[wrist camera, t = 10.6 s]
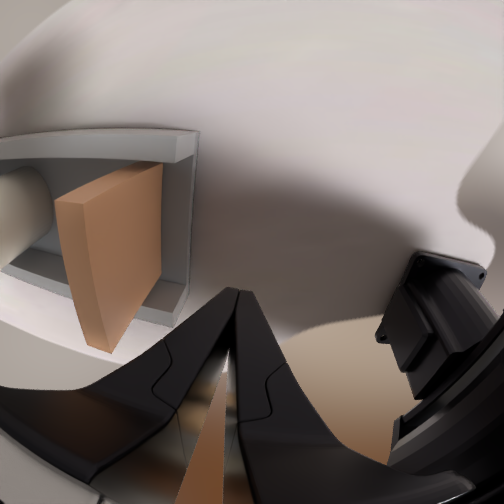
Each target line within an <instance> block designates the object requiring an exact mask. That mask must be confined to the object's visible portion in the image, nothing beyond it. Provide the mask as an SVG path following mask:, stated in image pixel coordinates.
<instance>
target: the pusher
mask: <svg viewBox="0 0 504 504" xmlns="http://www.w3.org/2000/svg"><path fill="white" fill-rule="evenodd" d="M162 174H163V162H151V161H138V162H136V163H133V164H131V165H128V166H126V167H123V168H121V169H119V170H116V171H114V172H112V173H109V174H107V175H105V176H103V177H100V178H98V179H96V180H94V181H92V182H90V183H87V184H85V185H83V186H81V187H79V188H77V189H75V190H73V191H71V192H69V193H67V194H65V195H63V196H61V197H59V198H57V199H56V200H54V202H55V211H56V219H57V226H58V233H59V239H60V245H61V250H62V255H63V260H64V265H65V270H66V274H67V279H68V283H69V287H70V291H71V294H72V298H73V302H74V305H75V309H76V312H77V316H78V319H79V322H80V325H81V328H82V331H83V334H84V337H85V340H86V343H87V345H89V346H91V347H94V348H97V349H99V350H102V351H105V352H108V353H111V354H112V352H113V351H114V349H115V347H116V345H117V344H118V342H119V340H120V339H121V337H122V335H123V334H124V332H125V331H126V329H127V327H128V326H129V324H130V322H131V321H132V319H133V318H134V316H135V314H136V313H137V311H138V310H139V308H140V306H141V305H142V303H143V302H144V300H145V299H146V297H147V295H148V294H149V292H150V291H151V289H152V288H153V286H154V285H155V283H156V282H157V280H158V279H159V277H160V276H161V274H162V270H161V198H162Z"/></svg>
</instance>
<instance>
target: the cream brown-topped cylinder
mask: <svg viewBox="0 0 504 504" xmlns="http://www.w3.org/2000/svg"><path fill="white" fill-rule="evenodd" d="M52 221H53V204H52V199H51V195H50V192H49V189H48V187H47V184H46V182H45V181H44V179H43V177H42V176H41V175H40V174H39V173H38V171H36V170H35V169H34V168H32V167H29V166H22V167H20V168H17V169H15V170H12V171H10V172H8V173H5V174H3V175H1V176H0V270H1V269H3V268H4V267H5V266H6V265H7V264H9V263H10V262H11V261H12V260H13V259H15V258H16V257H17V256H18V255H20V254H21V253H22V252H24V251H25V250H26V249H27V248H29V247H30V246H31V245H33V244H34V243H35V242H37V241H38V240H39V239H41V238H42V237H44V236H45V235H46V234H47V233H48V232H49V230H50V228H51V225H52Z"/></svg>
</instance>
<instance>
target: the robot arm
mask: <svg viewBox="0 0 504 504" xmlns="http://www.w3.org/2000/svg"><path fill="white" fill-rule="evenodd" d="M420 259H422V260H421V262H420V263H417V262H418V260H420ZM486 275H487V271H486V270H485V269H484V268H483V267H482V266H479V265H475V264H471V263H467V262H463V261H459V260H455V259H451V258H447V257H442V256H438V255H434V254H430V253H425V252H416V253H415V254H413V255H412V257H411V259H410V262H409V264H408V266H407V269H406V271H405V273H404V276H403V278H402V280H401V283H400V285H399V286H398V287H397V289H396V291H395V293H394V295H393V298H392V300H391V302H390V304H389V306H388V308H387V310H386V312H385V314H384V316H383V318H382V322H381V324H380V326H379V328H378V329H377V331H376V333H375V338H376V341H377V342H378V343H382V344H390V345H391V347H392V350H393V353H394V356H395V358H396V361H397V364H398V367H399V369H400V371H401V372H403V373H406V375H407V378H408V381H409V384H410V387H411V390H412V394H413V397H414V399H415V400H422V399H423V400H422V401H421V402H420V403H418V404H417V405H416V406H415V407H414V408H412V409H411V410H410V411H409V412H407V413H406V414H405V415H401V416H400V417H399V418H397V419H396V420H395V421H394V426H393V427H394V428H393V436H392V444H391V452H390V456H389V459H388V463H387V465H384V464H382V463H380V462H377V461H375V460H373V459H371V458H368V457H366V456H364V455H362V454H360V453H358V452H356V451H354V450H351V449H350V448H348V447H347V446H345V445H344V444H342V443H341V442H340V441H339V440H338V439H337V438H336V437H335V436H334V435H333V433H332V432H331V431H330V429H329V428H328V427H327V425H326V424H325V422H324V421H323V420H322V418H321V417H320V415H319V414H318V413H317V411H316V410H315V408H314V407H313V405H312V404H311V403H310V401H309V400H308V398H307V397H306V395H305V394H304V392H303V391H302V389H301V387H300V386H299V384H298V382H297V380H296V379H295V377H294V375H293V373H292V371H291V369H290V367H289V365H288V363H286V362H287V361H286V359H285V357H284V355H283V353H282V351H281V349H280V347H279V345H278V343H277V341H276V339H275V336H274V334H273V332H272V330H271V328H270V326H269V324H268V322H267V320H266V318H265V316H264V314H263V312H262V310H261V307H260V305H259V303H258V301H257V299H256V297H255V295H254V293H253V292H252V291H248V290H240V292H239V289H237V288H231V287H226V288H225V289H224V290H222V291H221V292H220V293H219V294H217V295H216V296H215V297H214V298H212V299H211V300H210V301H209V302H208V303H206V304H205V305H204V306H203V307H201V308H200V309H199V310H198V311H196V312H195V313H194V314H193V315H191V316H190V317H189V318H188V319H186V320H185V321H184V322H183V323H181V324H180V325H179V326H178V327H176V328H175V329H174V330H172V331H171V332H170V333H169V334H167V335H166V336H165V337H164V338H163V339H161V340H160V341H158V342H157V343H156V344H155V345H153V346H152V347H151V348H149V349H148V350H147V351H145V352H144V353H143V354H141V355H140V356H138V357H136V358H135V359H133V360H132V361H130V362H129V363H127V364H125V365H124V366H122V367H120V368H119V369H117V370H115V371H114V372H112V373H110V374H108V375H107V376H105V377H103V378H101V379H100V380H98V381H96V382H95V383H93V384H91V385H88V386H86V387H83V388H80V389H76V390H34V389H33V390H32V389H18V388H8V387H4V386H0V504H174V503H175V500H176V498H177V495H178V492H179V490H180V487H181V484H182V482H183V479H184V476H185V473H186V470H187V468H188V465H189V462H190V460H191V457H192V454H193V451H194V449H195V446H196V443H197V440H198V438H199V435H200V432H201V429H202V427H203V424H204V421H205V418H206V415H207V413H208V410H209V407H210V404H211V401H212V399H213V396H214V393H215V390H216V387H217V384H218V381H219V379H220V376H221V373H222V370H223V368H224V365H225V362H226V359H227V356H228V371H227V392H226V415H225V443H224V474H223V475H224V477H223V504H504V309H503V314H502V315H501V316H499V315H498V314H497V312H496V311H495V310H494V308H493V307H492V306H491V305H490V304H489V302H488V301H487V300H486V298H485V297H484V296H483V295H482V293H481V292H480V291H479V290H480V288H481V286H482V284H483V282H484V280H485V278H486ZM383 335H384V336H383ZM228 352H229V355H228Z"/></svg>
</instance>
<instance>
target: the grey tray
mask: <svg viewBox="0 0 504 504" xmlns="http://www.w3.org/2000/svg"><path fill="white" fill-rule="evenodd" d="M199 133H200V132H199V131H187V130H171V129H148V128H97V129H75V130H61V131H50V132H40V133H32V134H24V135H17V136H10V137H4V138H0V176H1V175H3V174H5V173H8V172H10V171H12V170H15V169H17V168H20V167H22V166H29V167H32V168H34V169H35V170H36V171H38V173H39V174H40V175H41V176H42V177H43V179H44V181H45V182H46V184H47V187H48V189H49V192H50V195H51V199H52V204H53V221H52V225H51V228H50V230H49V232H48V233H47V234H46V235H45V236H44V237H42V238H41V239H39V240H38V241H37V242H35V243H34V244H33V245H31V246H30V247H29V248H27V249H26V250H25V251H24V252H22V253H21V254H20V255H18V256H17V257H16V258H15V259H13V260H12V261H11V262H10V263H9V264H7V265H6V266H5V267H4V268H3V269H1V270H0V271H1V272H3V273H5V274H7V275H10V276H12V277H15V278H17V279H19V280H22V281H24V282H27V283H29V284H32V285H34V286H37V287H40V288H42V289H45V290H48V291H50V292H53V293H56V294H59V295H61V296H64V297H67V298H70V299H73V298H72V294H71V291H70V287H69V283H68V279H67V274H66V270H65V265H64V260H63V255H62V250H61V245H60V239H59V233H58V226H57V219H56V211H55V202H54V200H56V199H57V198H59V197H61V196H63V195H65V194H67V193H69V192H71V191H73V190H75V189H77V188H79V187H81V186H83V185H85V184H87V183H90V182H92V181H94V180H96V179H98V178H100V177H103V176H105V175H107V174H109V173H112V172H114V171H116V170H119V169H121V168H123V167H126V166H128V165H131V164H133V163H136V162H138V161H151V162H163V174H162V198H161V270H162V274H161V276H160V277H159V279H158V280H157V282H156V283H155V285H154V286H153V288H152V289H151V291H150V292H149V294H148V295H147V297H146V299H145V300H144V302H143V303H142V305H141V306H140V308H139V310H138V311H137V313H136V314H135V316H134V318H136V319H140V320H143V321H147V322H151V323H155V324H159V325H163V326H167V327H172V328H173V327H174V325H175V323H176V321H177V319H178V316H179V314H180V312H181V310H182V308H183V305H184V303H185V301H186V299H187V297H188V295H189V273H190V247H191V227H192V211H193V196H194V184H195V172H196V161H197V151H198V142H199Z"/></svg>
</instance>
